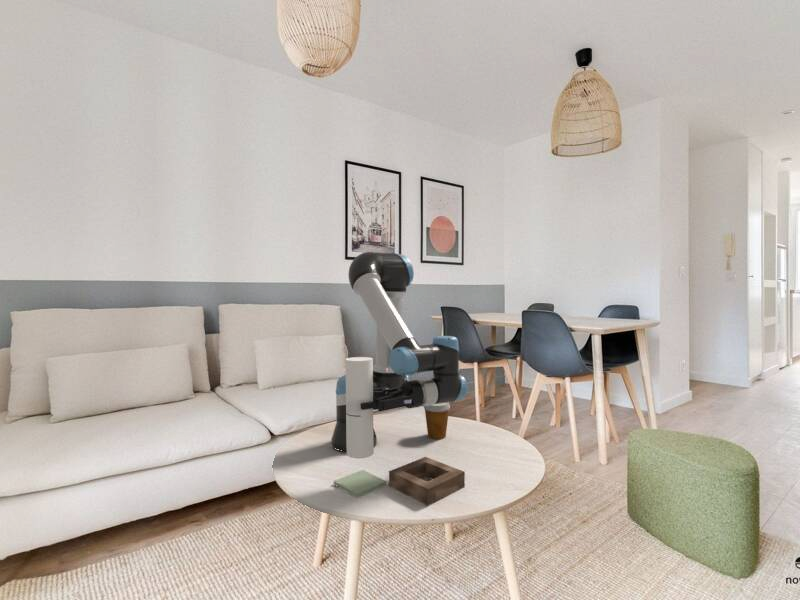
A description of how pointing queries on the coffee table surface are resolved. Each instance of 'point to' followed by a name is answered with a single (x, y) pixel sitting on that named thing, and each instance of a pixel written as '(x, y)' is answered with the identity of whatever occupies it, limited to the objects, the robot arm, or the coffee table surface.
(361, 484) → the green mat
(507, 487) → the coffee table surface
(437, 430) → the disposable coffee cup
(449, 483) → the frame
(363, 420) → the cylindrical container
